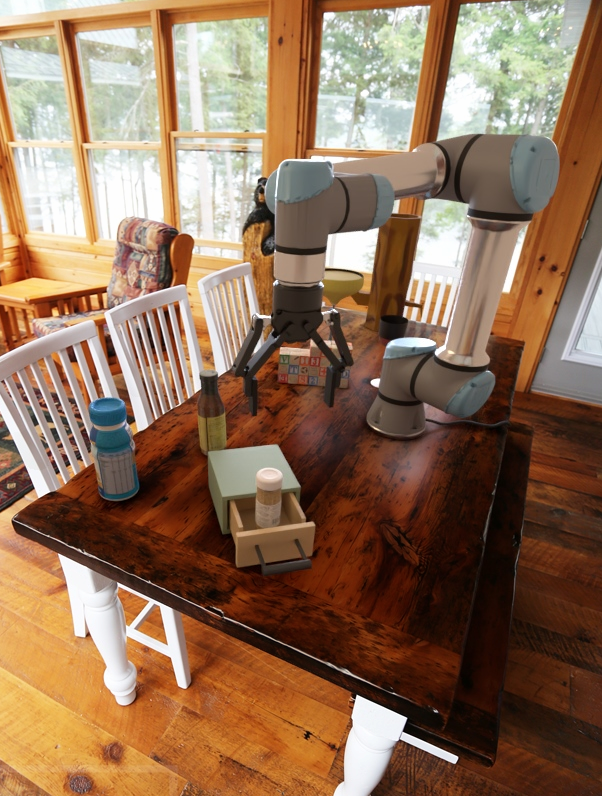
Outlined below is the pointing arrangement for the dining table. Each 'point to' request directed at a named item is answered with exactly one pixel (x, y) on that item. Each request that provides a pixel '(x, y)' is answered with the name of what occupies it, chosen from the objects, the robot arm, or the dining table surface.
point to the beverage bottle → (113, 449)
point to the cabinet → (244, 475)
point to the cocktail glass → (341, 285)
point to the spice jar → (268, 498)
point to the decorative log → (391, 269)
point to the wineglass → (390, 332)
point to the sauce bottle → (211, 414)
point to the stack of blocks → (308, 365)
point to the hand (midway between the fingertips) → (291, 408)
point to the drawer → (271, 536)
